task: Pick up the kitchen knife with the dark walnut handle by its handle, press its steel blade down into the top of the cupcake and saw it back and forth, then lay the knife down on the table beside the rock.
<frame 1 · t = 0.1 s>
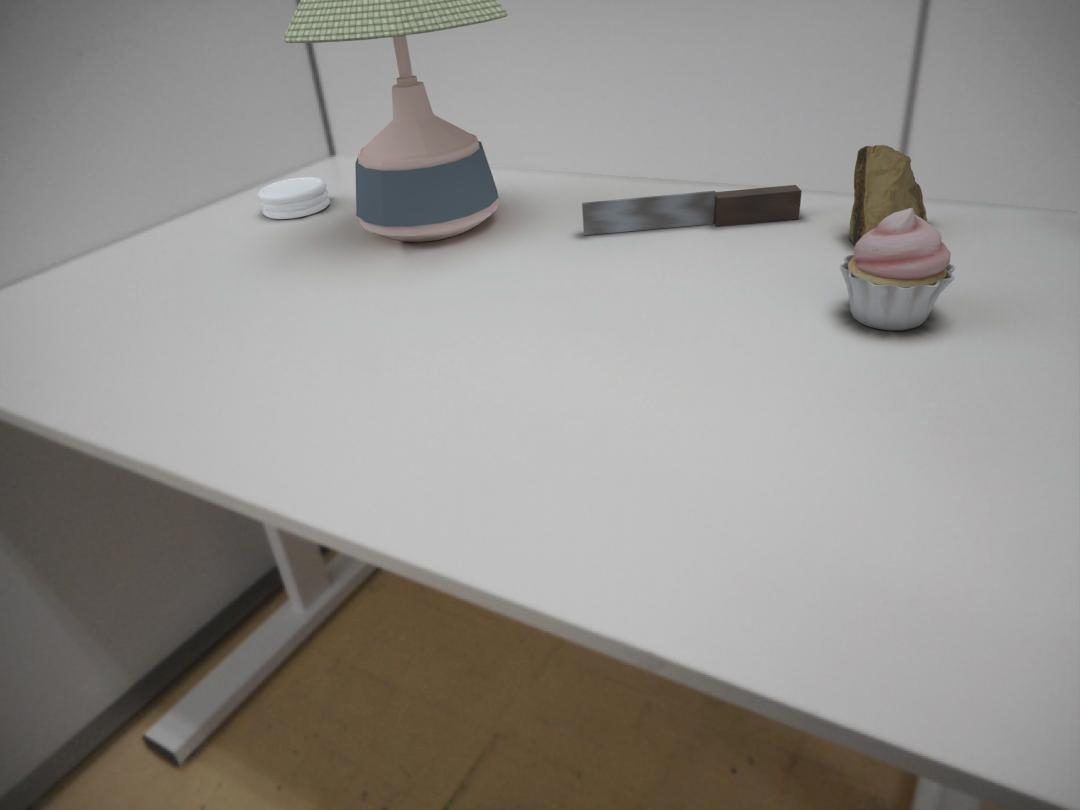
rock: (889, 236, 84), on the table
cupcake: (888, 318, 67), on the table
white layered round disc: (297, 210, 112), on the table
desk lamp: (432, 226, 100), on the table
knife: (705, 224, 91), on the table
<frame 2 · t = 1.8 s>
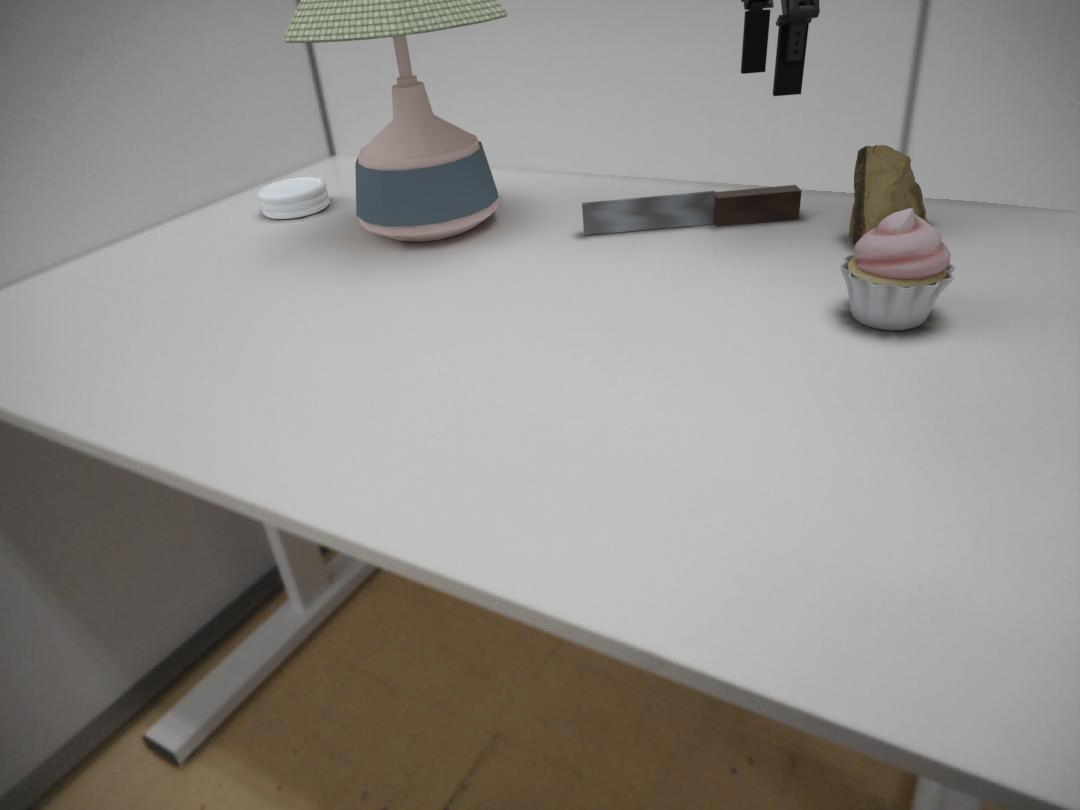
hand: (768, 83, 82), 16 cm above the table, tool pointing down, fingers open, 13 cm apart
nothing on the table moved.
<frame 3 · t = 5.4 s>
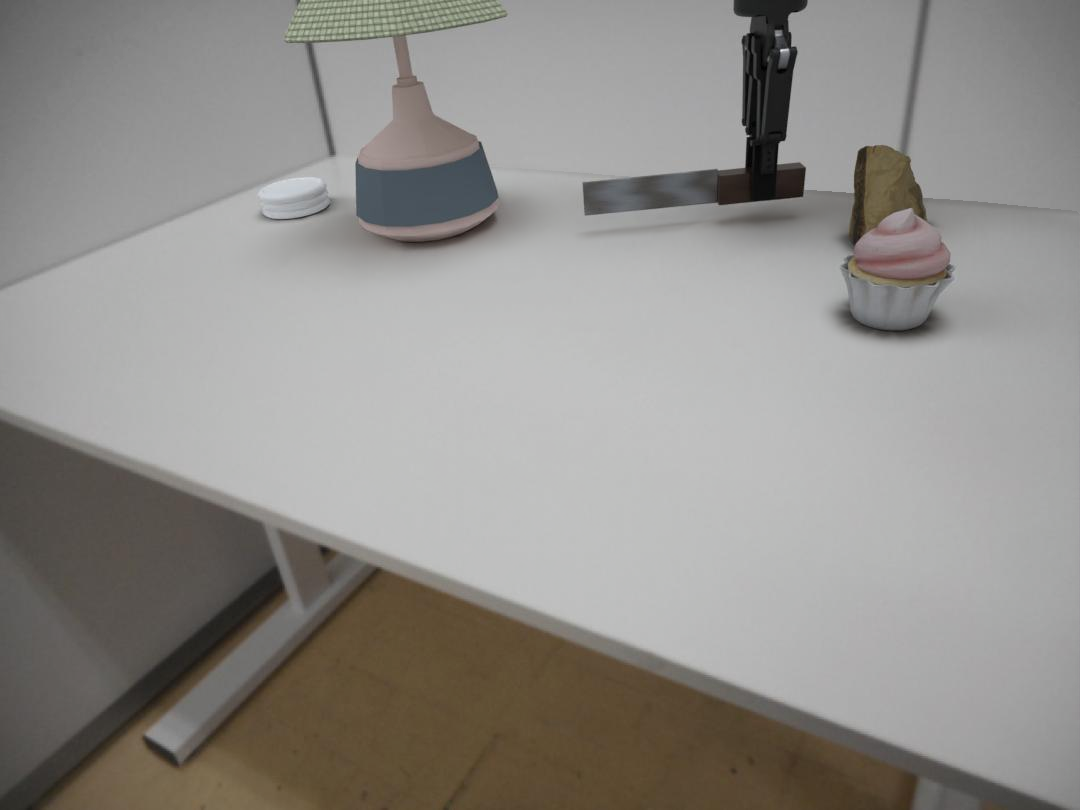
hand: (759, 195, 89), 3 cm above the table, tool pointing down, fingers closed on knife, 2 cm apart
knife: (708, 203, 90), point 3 cm above the table, touching gripper
everything else where it was.
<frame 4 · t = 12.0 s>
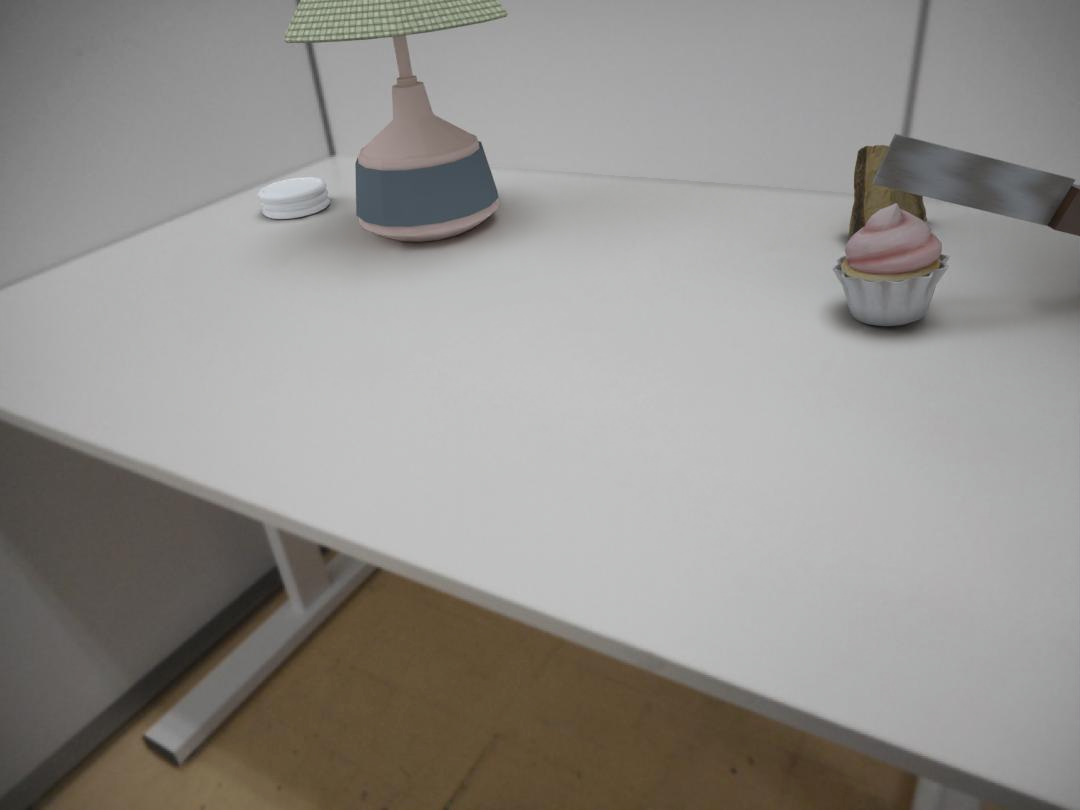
knife: (1035, 222, 63), point 8 cm above the table, tilted 18°, touching gripper
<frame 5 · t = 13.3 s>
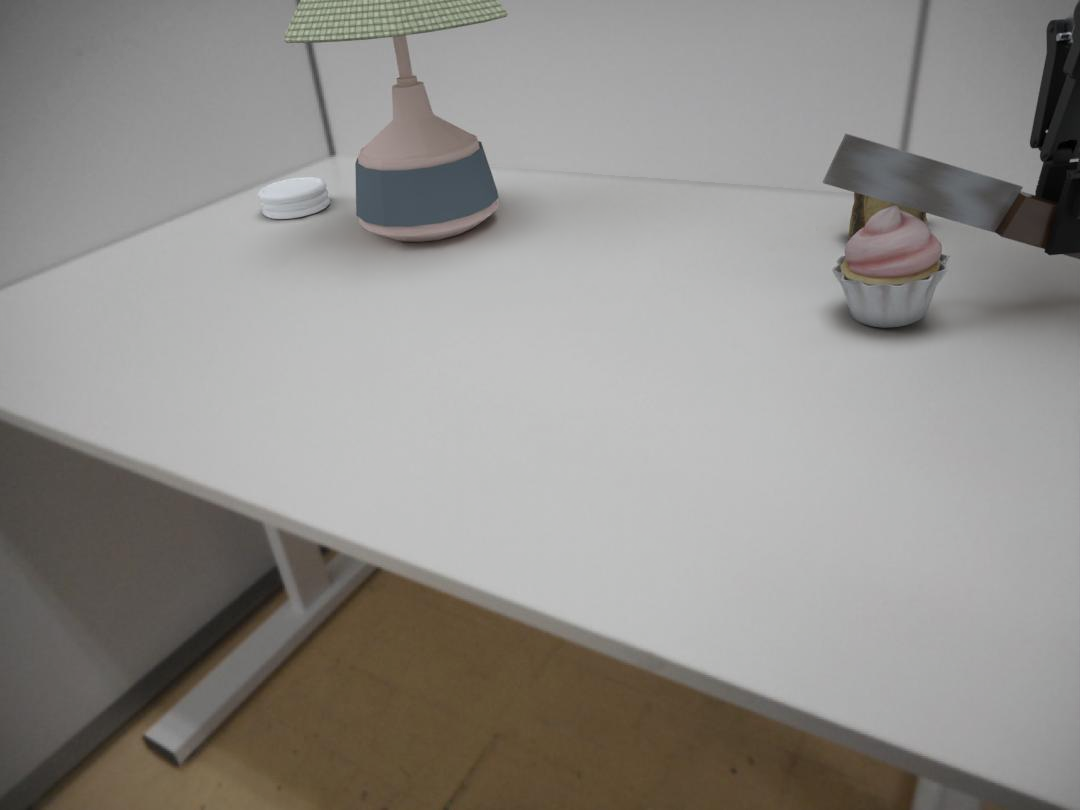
hand: (1052, 245, 64), 6 cm above the table, tool pointing down, fingers closed on knife, 2 cm apart
cupcake: (889, 314, 67), on the table, touching knife
knife: (983, 228, 63), point 8 cm above the table, tilted 20°, touching cupcake, gripper
everything else where it was.
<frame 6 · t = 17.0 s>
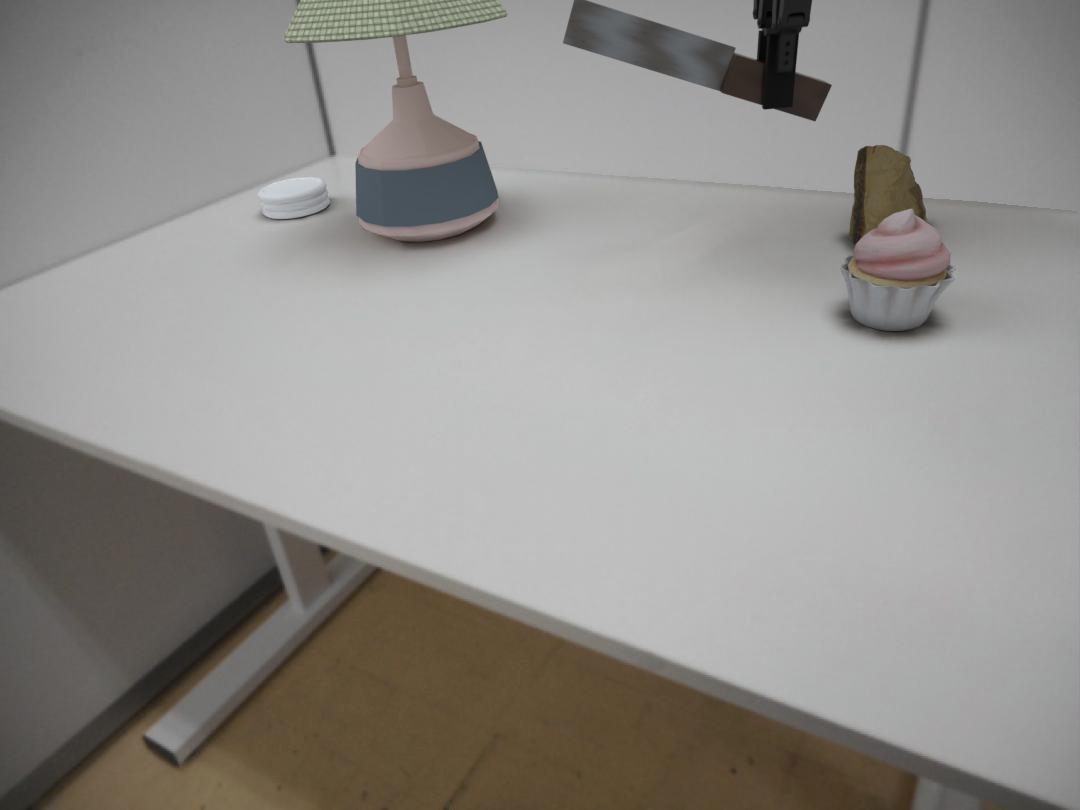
hand: (772, 103, 74), 16 cm above the table, tool pointing down, fingers closed on knife, 2 cm apart
cupcake: (888, 318, 67), on the table
knife: (709, 87, 73), point 18 cm above the table, tilted 21°, touching gripper
everything else where it was.
when the fingers open (0 cm above the table, at t = 20.5 s): knife stays where it is, on the table.
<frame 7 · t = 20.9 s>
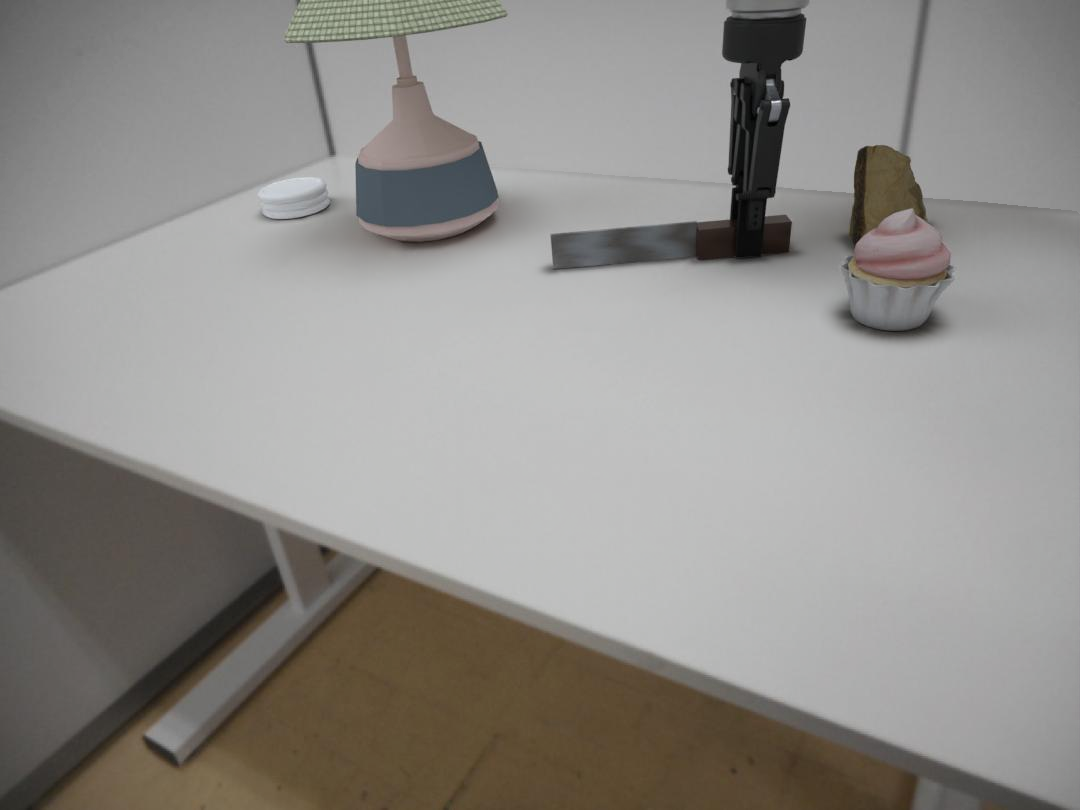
hand: (744, 250, 83), 0 cm above the table, tool pointing down, fingers open, 3 cm apart
knife: (686, 257, 83), on the table, touching gripper
everything else where it was.
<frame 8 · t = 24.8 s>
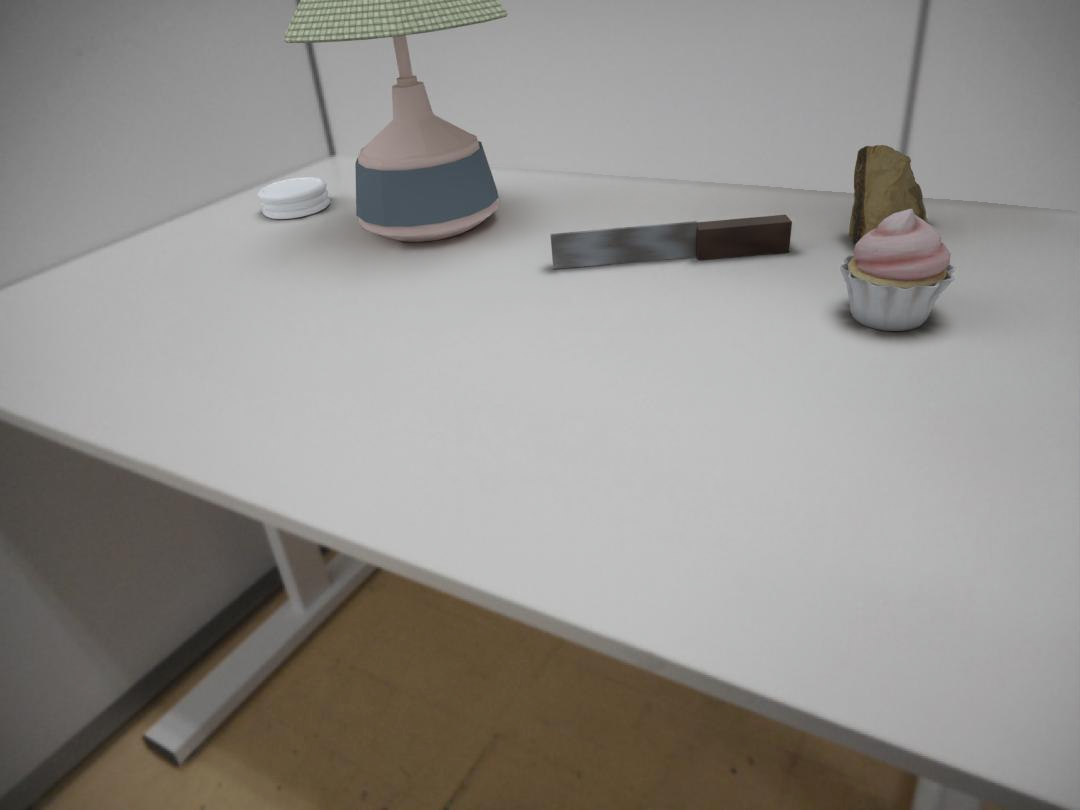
knife: (686, 257, 83), on the table
everything else where it was.
at the end: knife inside the target area (1.0 cm from its centre), on the table; cupcake tilted 0°; cupcake moved 0.2 cm from its start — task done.
